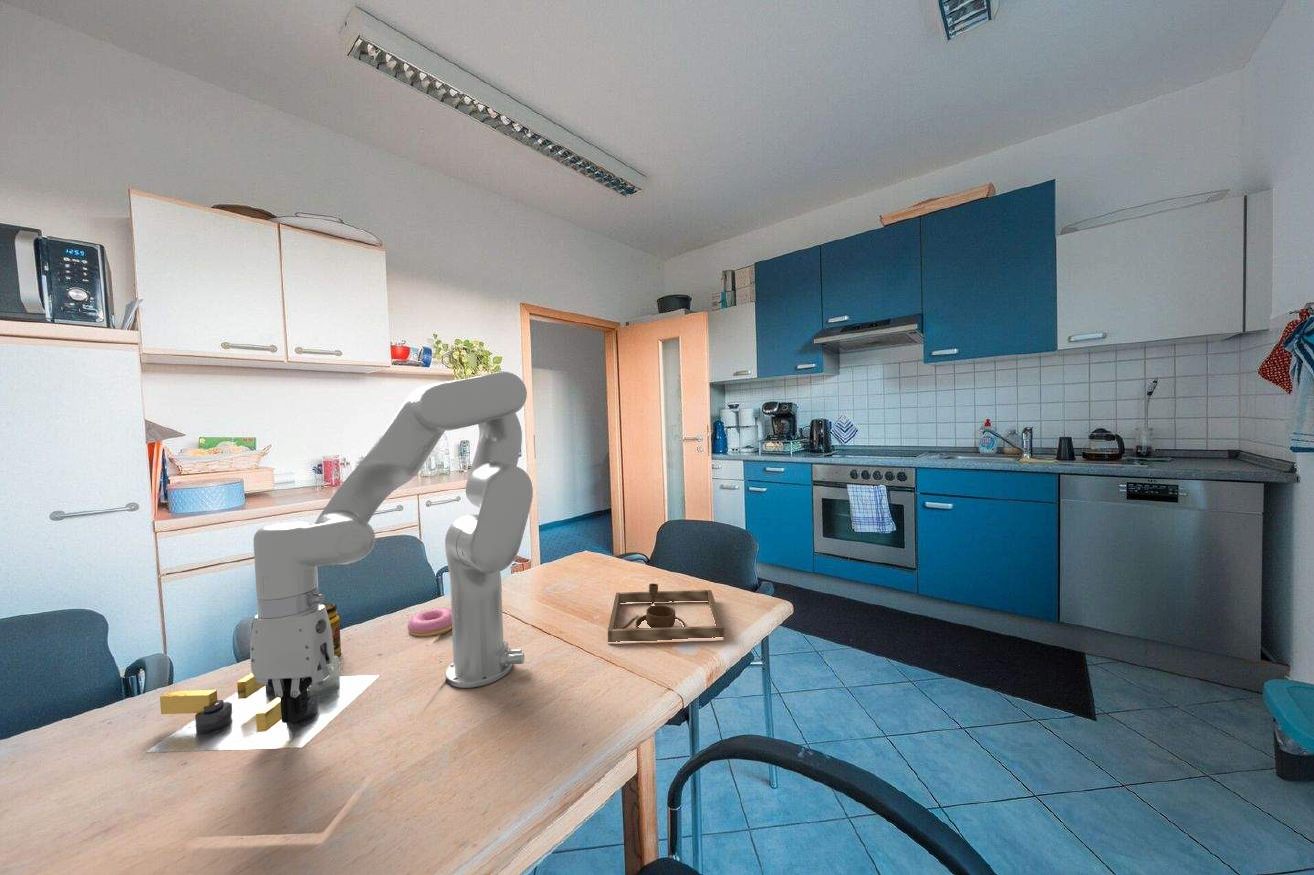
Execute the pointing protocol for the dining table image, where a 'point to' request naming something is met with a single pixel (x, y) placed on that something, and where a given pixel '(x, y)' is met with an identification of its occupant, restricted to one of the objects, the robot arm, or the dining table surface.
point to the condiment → (334, 626)
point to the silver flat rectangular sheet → (282, 735)
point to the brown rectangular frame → (666, 632)
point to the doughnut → (431, 622)
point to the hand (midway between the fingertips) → (295, 717)
